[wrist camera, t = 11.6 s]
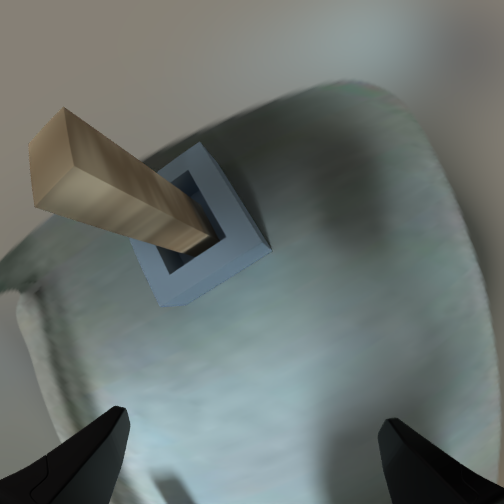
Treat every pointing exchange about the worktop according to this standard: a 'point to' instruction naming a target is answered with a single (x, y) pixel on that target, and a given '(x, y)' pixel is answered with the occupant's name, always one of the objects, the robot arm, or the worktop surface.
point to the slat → (112, 188)
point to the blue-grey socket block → (223, 222)
